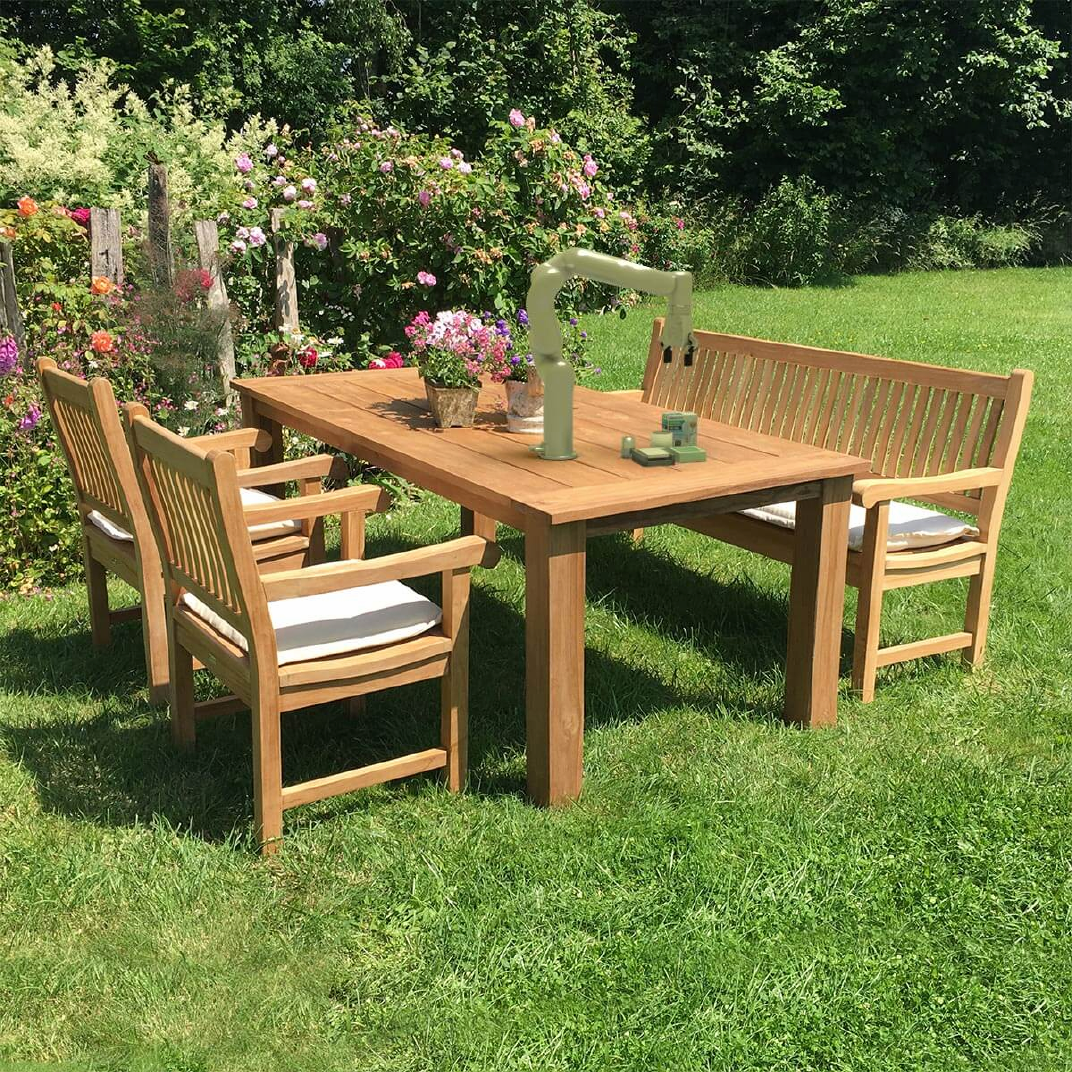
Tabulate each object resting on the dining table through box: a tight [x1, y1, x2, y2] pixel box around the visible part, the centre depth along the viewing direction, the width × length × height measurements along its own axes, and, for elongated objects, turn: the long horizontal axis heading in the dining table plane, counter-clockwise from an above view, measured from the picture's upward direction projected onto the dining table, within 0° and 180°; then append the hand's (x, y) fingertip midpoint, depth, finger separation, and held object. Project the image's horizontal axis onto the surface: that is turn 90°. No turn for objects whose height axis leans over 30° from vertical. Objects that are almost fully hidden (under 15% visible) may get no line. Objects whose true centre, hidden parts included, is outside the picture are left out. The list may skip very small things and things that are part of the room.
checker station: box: [630, 447, 676, 468], centre depth 376 cm, size 10×12×3 cm
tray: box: [669, 445, 707, 464], centre depth 380 cm, size 9×9×3 cm
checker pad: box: [636, 447, 669, 458], centre depth 376 cm, size 7×10×1 cm
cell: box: [620, 435, 636, 460], centre depth 383 cm, size 4×4×7 cm
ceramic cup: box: [649, 430, 673, 451], centre depth 388 cm, size 7×7×7 cm
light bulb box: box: [661, 411, 699, 448], centre depth 401 cm, size 11×7×11 cm, turn 105°
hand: (677, 364), depth 386 cm, fingers open, 9 cm apart
